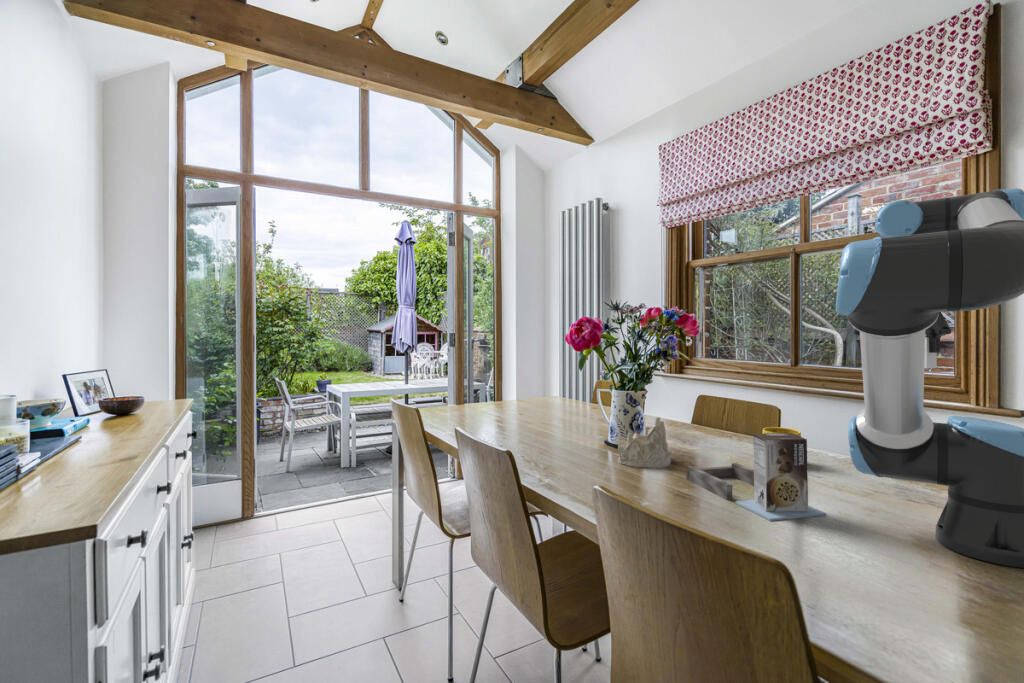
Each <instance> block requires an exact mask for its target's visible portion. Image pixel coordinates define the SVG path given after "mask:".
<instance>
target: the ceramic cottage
mask: <svg viewBox="0 0 1024 683" xmlns="http://www.w3.org/2000/svg"><path fill="white" fill-rule="evenodd" d="M644 432H645V434H644V435H643V434H638V433H637V432H635V433H634V434H633V433H632V432H631V433H630V432H627V438H624V437H619V438H618V446H617V452H618V453H619V457H618V459H617V464H618V465H619V464H620V465H625V466H630V467H635V468H650V469H655V468H656V469H658V468H666V467H669V466H671V463H672V457H671V456H672V455H671V454H672V453H671V451H669V444H668V442H667V430H666V427H665V421H664V420H661V416H656V419H655V421H654V424H653V425H652V426H645V430H644Z"/></svg>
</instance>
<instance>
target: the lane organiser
mask: <svg viewBox="0 0 1024 683" xmlns="http://www.w3.org/2000/svg"><path fill="white" fill-rule="evenodd" d="M732 476H734V477H733V478H735V477H736V478H735V479H738V480H740V481H742V482H745V483H747V484H749V485H752V486H753V485H754V468H750V467H748V466H746V465H742V464H740V463H737V462H734V463H731V465H729V466H715V467H713V466H712V467H704V468H703V467H701V468H697V467H695V466H694V465H691V466H687V468H686V469H685V479H686V480H688V481H690V482H691V483H693V484H696V485H697V486H700V488H704V489H705V490H707V491H709V492H711V493H713V494H715V495H717V496H718V497H721V498H723V499H724V500H727V501H729V500H733V484H732V483H730V482H727V481H725V480H724V479H721V478H720V477H723V478H732Z"/></svg>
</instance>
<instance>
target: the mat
mask: <svg viewBox="0 0 1024 683" xmlns="http://www.w3.org/2000/svg"><path fill="white" fill-rule="evenodd" d="M735 504H736V505H739V506H740V507H742V508H744V509H746V510H747V511H749V512H752V513H753V514H755V515H756V516H757V515H758V516H759V517H762V519H763V518H764V519H765V520H767V521H768V522H773V521H782V520H783V521H784V520H793V519H801V518H802V519H803V518H813V517H823V516H827V513H826V512H825V511H823V510H820V509H818V508H816V507H813V506H811V505H809V504H808V512H766V511H765V510H764V509H762V508H761V507H760V506H759V505H757V504H756V503H755V502H754V499H746V500H736V501H735Z"/></svg>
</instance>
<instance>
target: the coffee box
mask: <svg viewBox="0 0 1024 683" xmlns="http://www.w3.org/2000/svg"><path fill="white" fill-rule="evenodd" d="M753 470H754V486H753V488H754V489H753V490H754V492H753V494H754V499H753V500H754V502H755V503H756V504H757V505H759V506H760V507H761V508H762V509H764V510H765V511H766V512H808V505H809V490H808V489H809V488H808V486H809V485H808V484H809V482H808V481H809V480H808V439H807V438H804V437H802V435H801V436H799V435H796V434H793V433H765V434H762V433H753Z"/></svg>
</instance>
